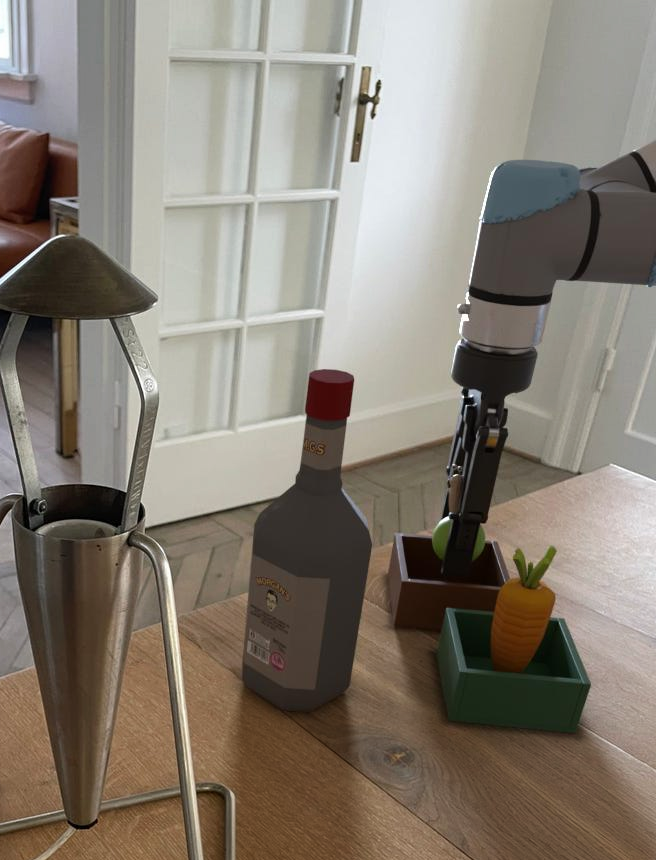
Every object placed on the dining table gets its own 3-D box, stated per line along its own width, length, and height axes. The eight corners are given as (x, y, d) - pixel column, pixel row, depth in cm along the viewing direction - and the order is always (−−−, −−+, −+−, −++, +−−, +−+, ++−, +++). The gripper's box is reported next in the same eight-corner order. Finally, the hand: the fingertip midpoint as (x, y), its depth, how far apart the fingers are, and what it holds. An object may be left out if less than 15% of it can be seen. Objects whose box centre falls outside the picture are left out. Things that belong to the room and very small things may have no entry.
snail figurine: (413, 563, 104) (432, 458, 97) (445, 546, 107) (466, 443, 101) (457, 582, 100) (480, 474, 94) (489, 563, 104) (513, 458, 98)
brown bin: (487, 584, 111) (497, 541, 108) (503, 636, 102) (514, 591, 99) (387, 575, 112) (395, 532, 109) (393, 626, 103) (402, 581, 100)
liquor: (297, 723, 88) (338, 402, 72) (227, 678, 94) (251, 371, 77) (361, 686, 93) (412, 380, 77) (291, 646, 99) (326, 352, 83)
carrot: (477, 697, 91) (511, 556, 83) (476, 668, 96) (509, 532, 87) (531, 706, 91) (571, 564, 82) (528, 676, 95) (566, 539, 87)
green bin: (550, 664, 98) (564, 618, 95) (575, 733, 88) (591, 684, 85) (436, 653, 99) (446, 607, 96) (448, 720, 89) (460, 671, 86)
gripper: (447, 315, 100) (409, 519, 112) (470, 368, 84) (423, 599, 97) (521, 320, 99) (475, 525, 111) (558, 375, 83) (500, 606, 96)
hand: (451, 559), depth 104 cm, fingers closed on snail figurine, 5 cm apart
